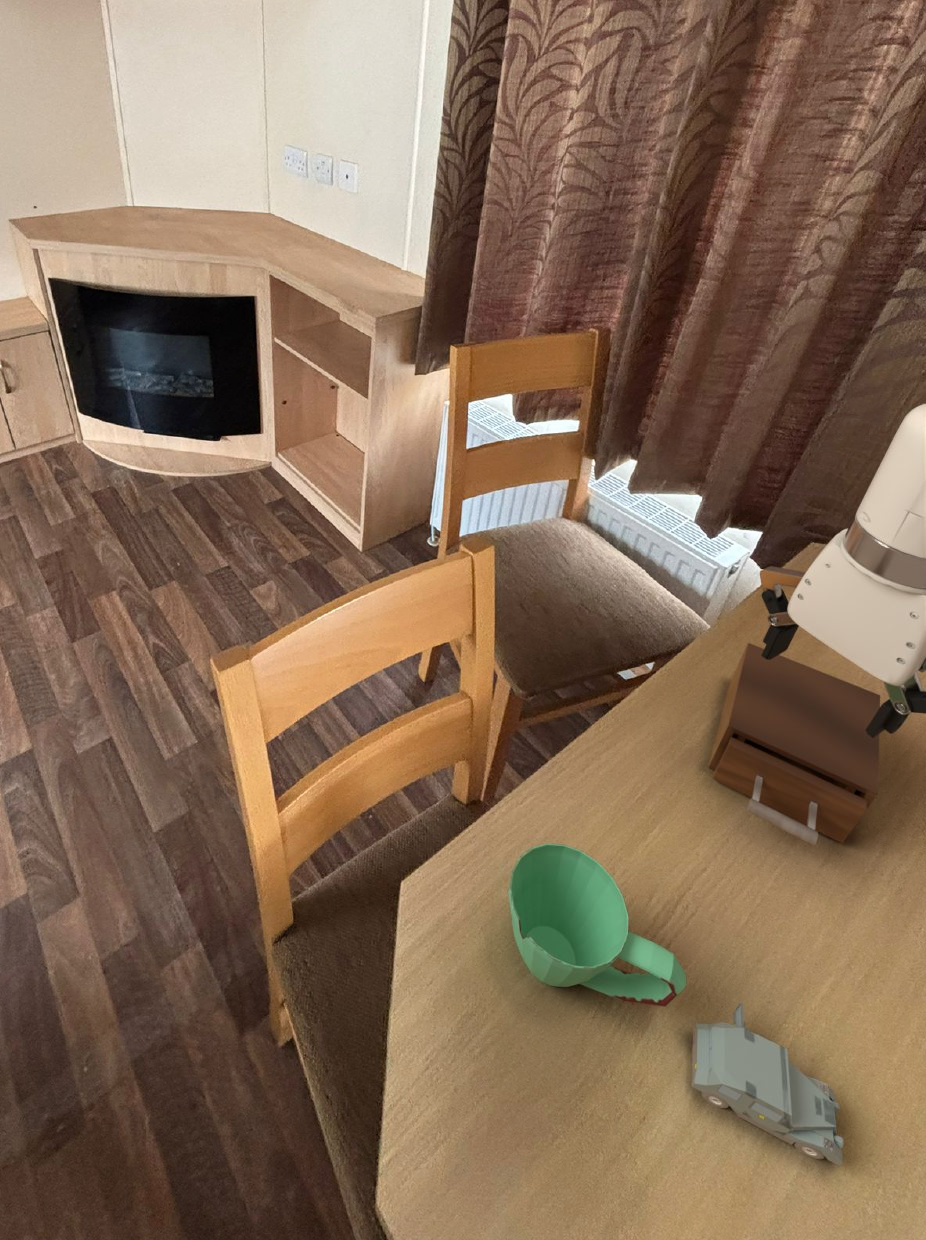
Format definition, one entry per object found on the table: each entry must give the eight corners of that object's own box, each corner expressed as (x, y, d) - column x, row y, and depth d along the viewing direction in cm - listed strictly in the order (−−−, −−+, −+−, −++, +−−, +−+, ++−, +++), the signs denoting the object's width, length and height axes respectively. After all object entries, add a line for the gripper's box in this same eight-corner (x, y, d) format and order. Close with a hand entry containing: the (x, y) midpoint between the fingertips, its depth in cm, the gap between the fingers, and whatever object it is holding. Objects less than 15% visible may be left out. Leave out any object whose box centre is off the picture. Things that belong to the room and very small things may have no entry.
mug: (480, 977, 62) (494, 923, 57) (513, 878, 69) (528, 823, 64) (652, 1087, 55) (685, 1038, 50) (669, 965, 63) (699, 911, 58)
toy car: (832, 1171, 51) (858, 1150, 49) (687, 1092, 55) (704, 1070, 53) (822, 1071, 56) (845, 1048, 54) (689, 1005, 60) (705, 980, 58)
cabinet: (846, 838, 72) (878, 794, 68) (707, 769, 79) (728, 725, 75) (852, 739, 83) (880, 695, 78) (728, 685, 89) (748, 642, 85)
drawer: (840, 883, 68) (865, 848, 65) (704, 812, 74) (721, 777, 71) (848, 748, 80) (870, 714, 77) (732, 697, 87) (747, 663, 83)
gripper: (1059, 602, 50) (949, 746, 59) (821, 483, 63) (761, 615, 72) (1009, 637, 47) (902, 784, 56) (770, 505, 60) (714, 640, 69)
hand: (822, 689), depth 64 cm, fingers open, 9 cm apart
